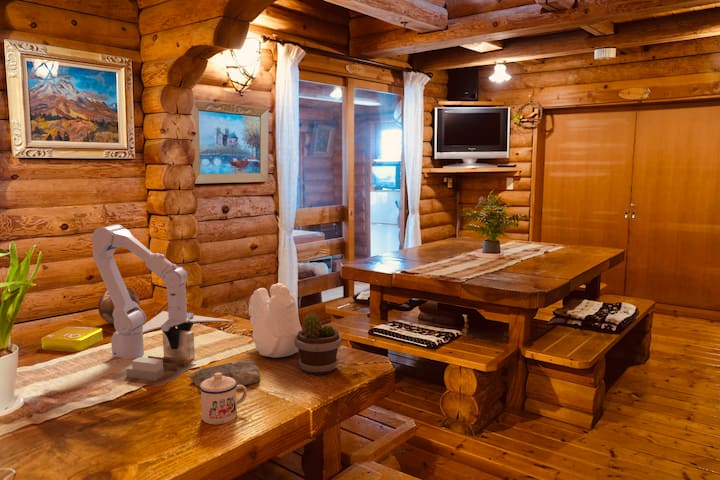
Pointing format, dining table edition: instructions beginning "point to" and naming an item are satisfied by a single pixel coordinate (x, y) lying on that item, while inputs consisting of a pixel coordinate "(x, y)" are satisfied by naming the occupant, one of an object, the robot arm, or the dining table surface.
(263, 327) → the white sculpture
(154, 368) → the upper offcut
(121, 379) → the walnut rack
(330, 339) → the flowerpot
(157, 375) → the block
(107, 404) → the dining table surface
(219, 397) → the teacup with lid
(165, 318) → the corner molding
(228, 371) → the clay tablet
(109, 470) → the dining table surface
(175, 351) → the brown rectangular block
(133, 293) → the wooden sphere
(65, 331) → the element tile
